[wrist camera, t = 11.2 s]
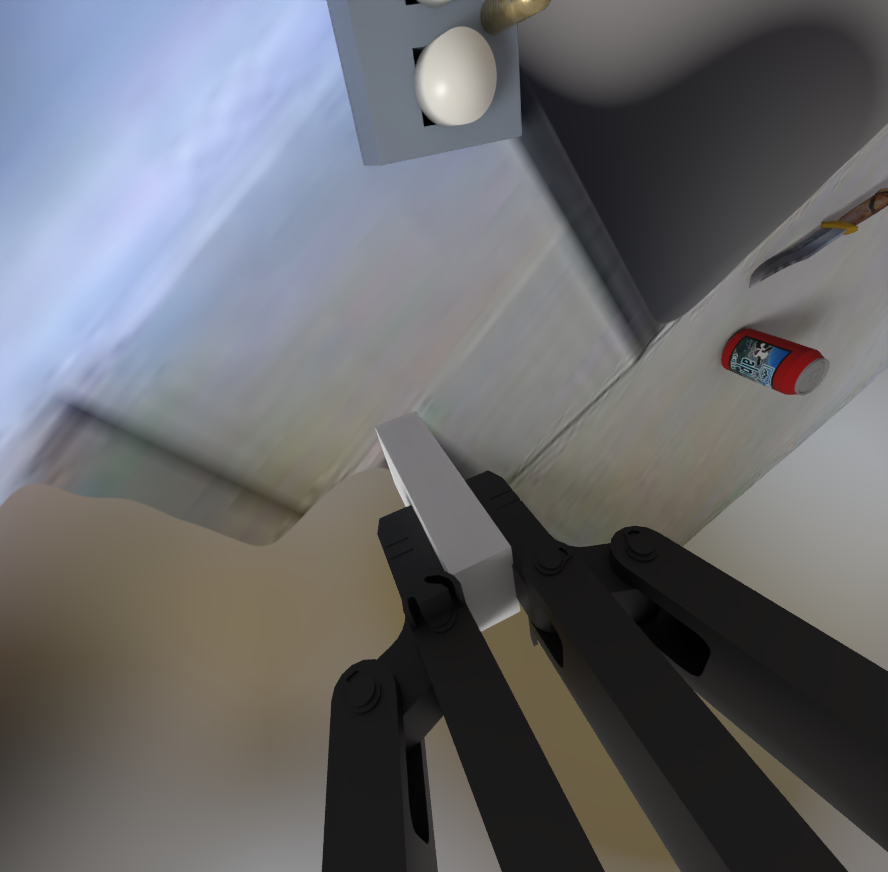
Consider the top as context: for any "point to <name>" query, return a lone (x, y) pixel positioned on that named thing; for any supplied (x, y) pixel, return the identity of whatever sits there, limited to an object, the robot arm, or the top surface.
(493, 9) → the pot post
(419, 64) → the knob
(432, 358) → the top surface
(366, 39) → the mount
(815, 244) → the knife
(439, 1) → the knob
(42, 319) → the top surface
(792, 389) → the beverage can
